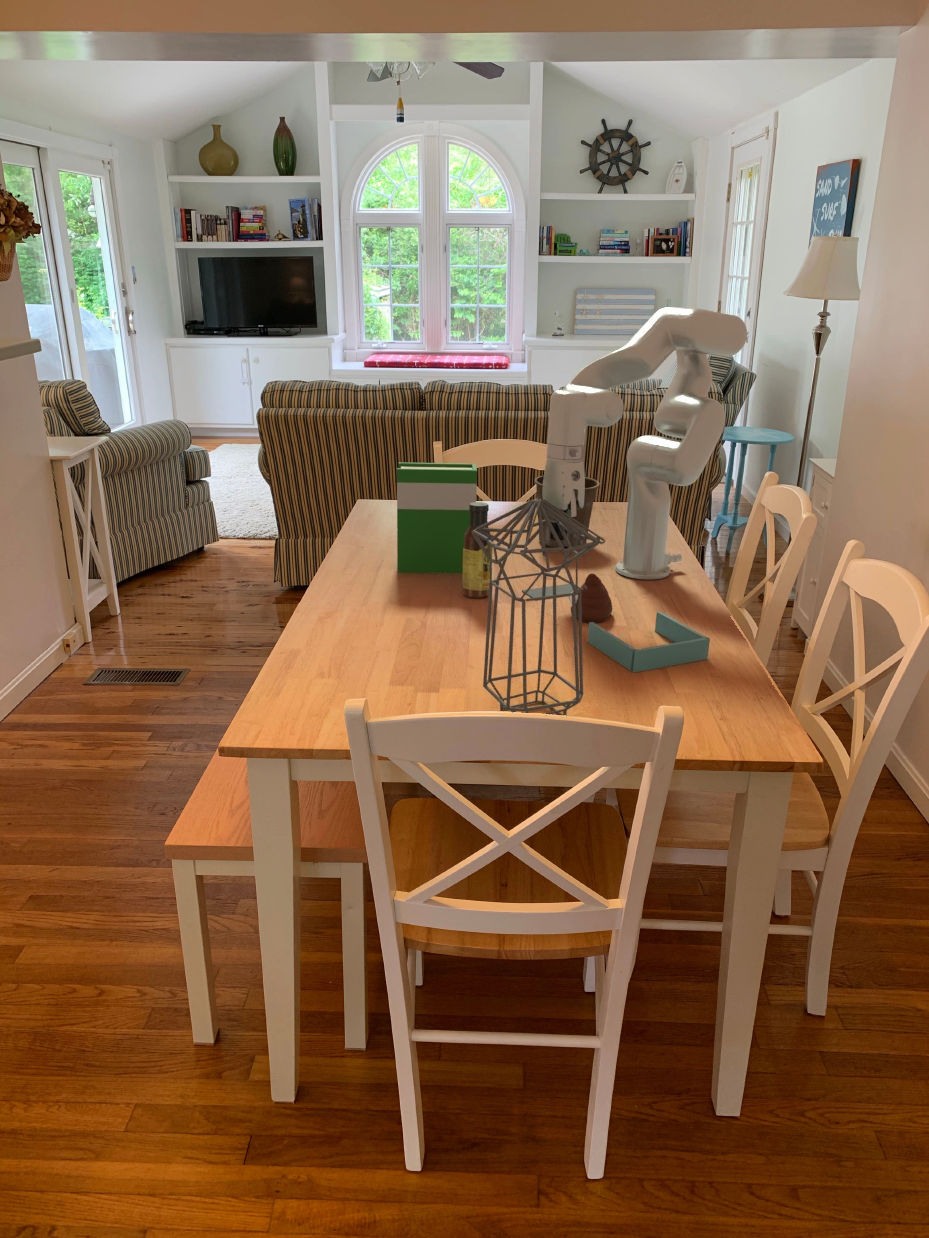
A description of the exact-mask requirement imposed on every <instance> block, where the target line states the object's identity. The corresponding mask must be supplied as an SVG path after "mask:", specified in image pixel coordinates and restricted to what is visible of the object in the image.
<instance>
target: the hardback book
mask: <svg viewBox="0 0 929 1238" xmlns="http://www.w3.org/2000/svg"><path fill="white" fill-rule="evenodd" d="M397 466H398V467H396V508H397V509H396V521H397V522H396V529H397V531H396V535H397V539H396V540H397V541H396V542H397V544H396V546H397V547H396V549H397V550H396V552H397V554H396V555H397V556H396V557H397V559H396V561H397V564H396V567H397V568H396V569H397V573H399V574H456V575H457V574H458V575H459V574H461V575H462V574H463V546H464V534H465V532H466V530H467V529H468V527H469V525H470V523H469V521H470V510H469V505H470V503H473V502H477V487H478V486H477V482H478V480H477V478H478V469H477V463H462V462H461V463H459V462H447V463H446V462H405V461H404V462H403V461H401V462H399V461H398V465H397Z"/></svg>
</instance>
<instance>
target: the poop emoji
mask: <svg viewBox="0 0 929 1238" xmlns="http://www.w3.org/2000/svg"><path fill="white" fill-rule="evenodd" d="M578 586H579V585H578ZM579 587H581V588H583V589H584V590H583V591H581V604H582V623H586V624H587V623H588V624H589V622H594V623H595V624H598V623H603V622H604V621H607V619H609V617H610V615H611V614H612V613H613V603H612V599H611V597H610V596H609V592H608V589H607V588H606V586H605V584H604V583H603V581H602V579H600V577H598V576H597V575H596V574H595V573H589V574H588V575H587V576H586V578H585V580H584V583H582V584H581V586H579ZM573 592H574V591H573ZM571 593H572V592H571ZM575 597H576V621H578V595H575ZM568 600H569V602H570V603H571V604H572V595H571V596H568ZM570 613H571V616H572V617H573V612H572V606H571V607H570Z"/></svg>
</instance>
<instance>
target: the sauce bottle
mask: <svg viewBox="0 0 929 1238" xmlns="http://www.w3.org/2000/svg"><path fill="white" fill-rule="evenodd" d="M489 509H490V508H489V503H487V502H482V501H476V502H473V503H470V505H469V510H470V521H469V523H470V525H469V527H468V529H467V530H466V532H465V534H464V546H463V574H461V575H462V576H461V578H462V581H461V584H462V585H461V586H462V594H463V595H464V596H465V597H468V598H475V599H480V598H485V597H489V583H490V561H489V560H488V559H487V557H486V556H485V554H484V552H483V551H482V549H481V547H480V546H479V544H478V543H477V541H476V539H475V538H474V536H473V534H472V533H471V532H472V531H473V530H475V529H476V528H477V527H479V526H481V525H483V524H485V523H487V522H488V516H489V515H488V514H489V513H488V512H489ZM485 528H489V526H487V527H485ZM487 533H489V534H491V532H487ZM480 534H481V533H480ZM482 535H483V534H482ZM484 536H485V535H484ZM486 537H487V536H486ZM488 538H489V537H488ZM479 539H480V541H481V542H482V544H483V546H484V547H485V549H486V550H487V552H488V547H487V541H486V540H484V539H482V538H480V537H479ZM490 539H491V538H489V540H490ZM490 554H491V559H493V547H492V546H491V545H490Z"/></svg>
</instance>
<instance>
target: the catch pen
mask: <svg viewBox="0 0 929 1238" xmlns="http://www.w3.org/2000/svg"><path fill="white" fill-rule="evenodd" d="M654 632H656V633H657V634H659V635H660V636H662V637H664V638H666V639H667V640H669V641H671V642H672V643H666V644H660V645H655V646H650V647H649V646H648V647H643V648H635V647H633V646H632V645H630V644H629V643H627V642H625V641H624V640H622V639H621V638H619V637H617V636H615V635H614V634H613V633H611V632H610V631H608V630H606V629H605V628H604V627H602V626H600V625H598V623H594V622H589V623H588V633H587V643H588V644H590V645H591V646H593V647H594V648H596V649H597V650H599V651H600V652H602V653H603V654H605V655H606V656H607V657H609V658H611V659H612V660H613V661H615V662H617V663H618V664H620V665H621V666H623V667H624V668H625V669H627V670H629V671H630V672H632V673H639V672H645V671H649V670H651V671H652V670H655V669H660V668H666V667H671V666H677V665H682V664H688V663H692V662H693V663H694V662H699V661H704V660H708V659H709V658H708V657H709V648H710V640H711V639H710V637H708V636H706V635H704V634H703V633H701V632H699V631H697V630H696V629H693V628H691V627H689V626H688V625H686V624H684V623H682V622H680V621H678V620H677V619H675V618H673V617H671V616H669V615H667V614H665V613H664V612H662V611H657V612H656V615H655V626H654Z"/></svg>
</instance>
